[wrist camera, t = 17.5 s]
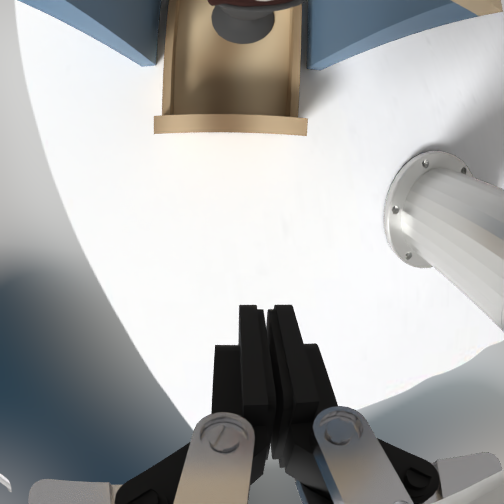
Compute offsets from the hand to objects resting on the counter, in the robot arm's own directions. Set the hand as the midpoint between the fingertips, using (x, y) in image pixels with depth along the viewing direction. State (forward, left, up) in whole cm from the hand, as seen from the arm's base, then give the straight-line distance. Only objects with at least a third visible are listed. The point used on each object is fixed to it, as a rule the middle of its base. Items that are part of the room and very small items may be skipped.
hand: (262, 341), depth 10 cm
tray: (+1, -13, -18) cm, 22 cm away
